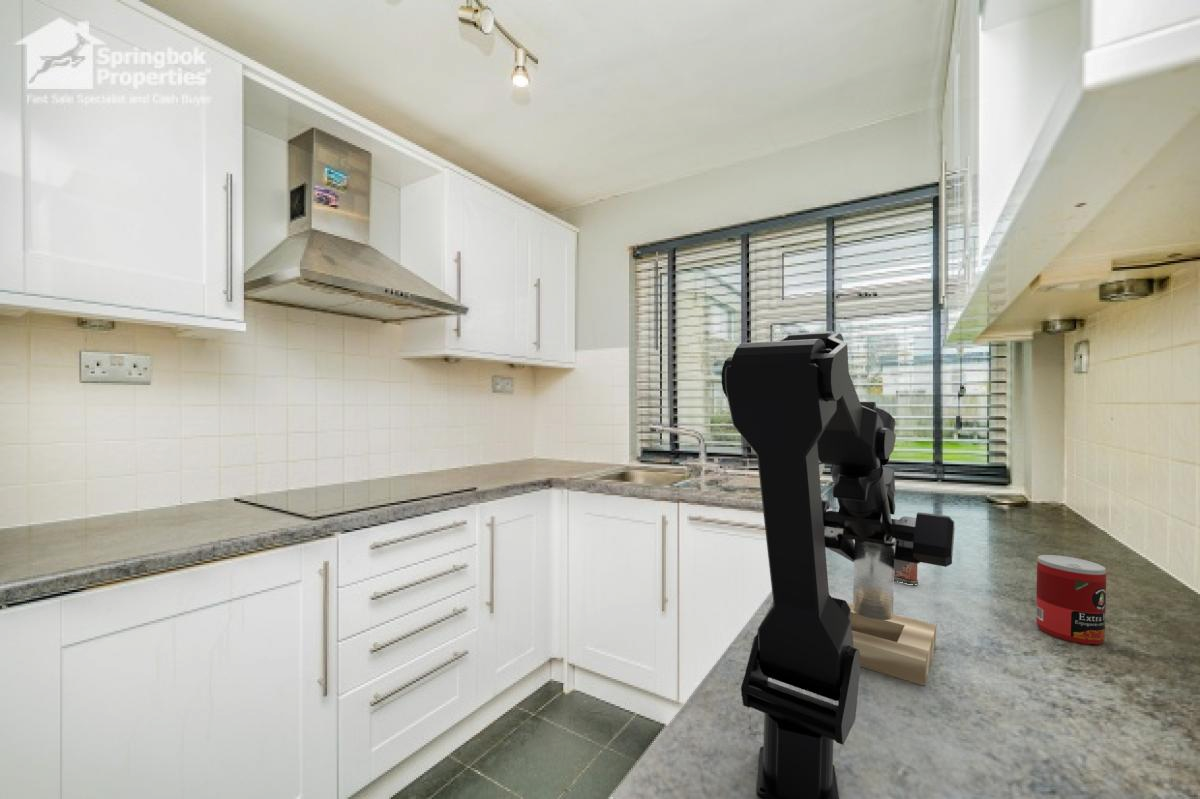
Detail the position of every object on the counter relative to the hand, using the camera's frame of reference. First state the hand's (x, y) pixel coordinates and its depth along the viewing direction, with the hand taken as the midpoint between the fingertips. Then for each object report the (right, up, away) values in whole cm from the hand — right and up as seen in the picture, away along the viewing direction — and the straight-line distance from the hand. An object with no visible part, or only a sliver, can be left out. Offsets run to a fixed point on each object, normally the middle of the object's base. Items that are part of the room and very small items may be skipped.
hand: (875, 563), depth 73 cm
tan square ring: (-1, -11, -1) cm, 12 cm away
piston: (-1, -7, -1) cm, 7 cm away
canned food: (+33, -13, +6) cm, 35 cm away
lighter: (+20, -13, +29) cm, 37 cm away
